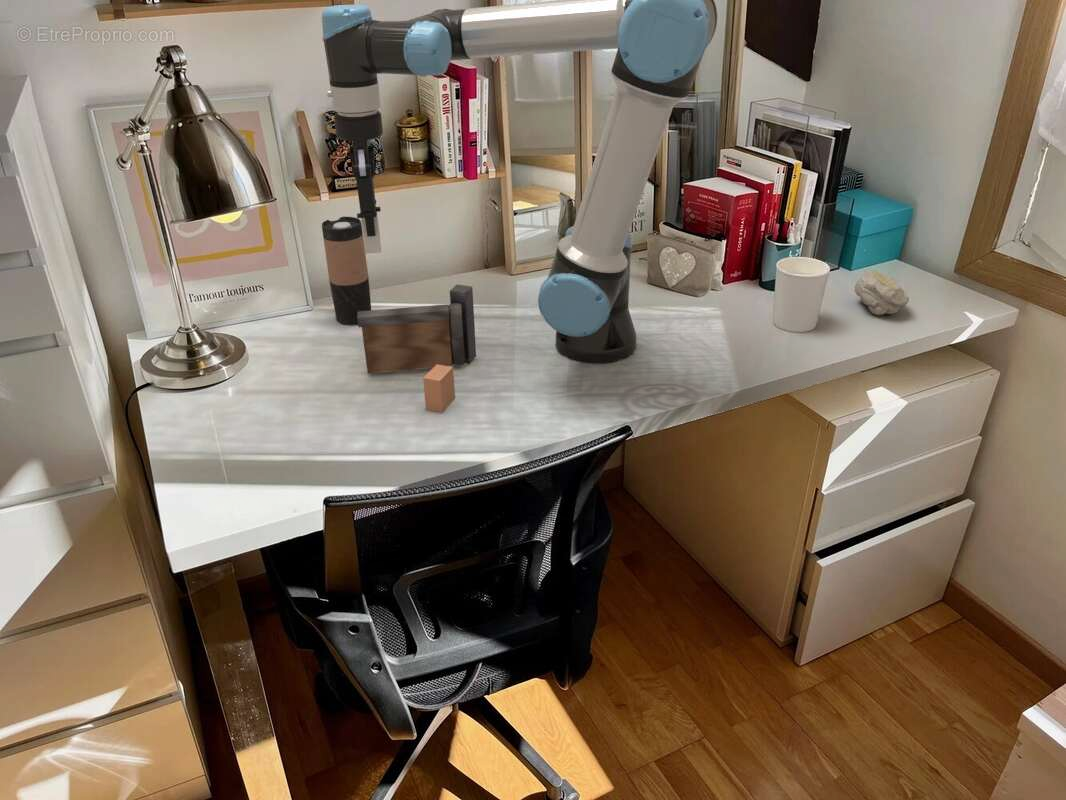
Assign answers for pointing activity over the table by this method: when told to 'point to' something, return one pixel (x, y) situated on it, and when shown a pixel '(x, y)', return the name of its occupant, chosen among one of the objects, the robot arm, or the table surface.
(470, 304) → the hinge post
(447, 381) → the block
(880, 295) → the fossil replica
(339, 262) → the travel mug
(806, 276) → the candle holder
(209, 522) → the table surface
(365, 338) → the walnut gate
